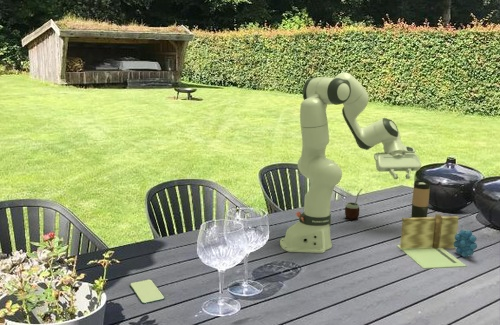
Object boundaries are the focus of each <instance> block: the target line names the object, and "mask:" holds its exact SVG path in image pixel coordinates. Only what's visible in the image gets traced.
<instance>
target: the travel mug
mask: <svg viewBox="0 0 500 325" xmlns="http://www.w3.org/2000/svg"><path fill="white" fill-rule="evenodd" d="M412 191H413V192H412V200H411V201H412V203H411V217H410V218H419V217H428V210H429V202H430V191H431V182H430V181H426V180H414V183H413V190H412Z"/></svg>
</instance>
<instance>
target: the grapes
mask: <svg viewBox="0 0 500 325" xmlns="http://www.w3.org/2000/svg"><path fill="white" fill-rule="evenodd" d="M477 238H478V237H477V236H476V235H475V234H473V232H472V230H470V229H469V230H468V229H467V230H465V229H461V230H460V231H459V233H457V234H456V235H455V239H456V241H455V242H454V244H453V245H454V246H455V253H456V254H458V255H461V256H462V257H463V258H466V257H468V256H470V257H471V256H473V255H474V253H475V250H476V249H477V248H478V244H477V243H476V241H477Z"/></svg>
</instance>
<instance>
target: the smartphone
mask: <svg viewBox="0 0 500 325" xmlns="http://www.w3.org/2000/svg"><path fill="white" fill-rule="evenodd" d="M129 286H130V288H131V289H132V291H133V292H134V294H135V295H136V297H137V298H138V300H139V301H140V303H141V304H142V305H146V303H147V304H150V303H154V302H159V301H160V300H161V301H164V300H165V298H166V297H165V295H164V294H163V293H162V292H161V291H160V289H159V288H158V287H157V285H156V284H155V282H154V281H153V280H152V279H144V280H143V279H142V280H139V281H138V280H137V281H134V282H131V283H129Z"/></svg>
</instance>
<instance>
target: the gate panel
mask: <svg viewBox="0 0 500 325" xmlns="http://www.w3.org/2000/svg"><path fill="white" fill-rule="evenodd" d="M401 220H402V224H401V233H400V234H401V236H400V244H399V245H400V248H401V249H403V248H426V247H433V237H434V226H435V220H436V218H435V216H429V217H428V216H427V217H419V218H411V217H402V219H401ZM400 248H399V249H400ZM401 249H400V250H401Z"/></svg>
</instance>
